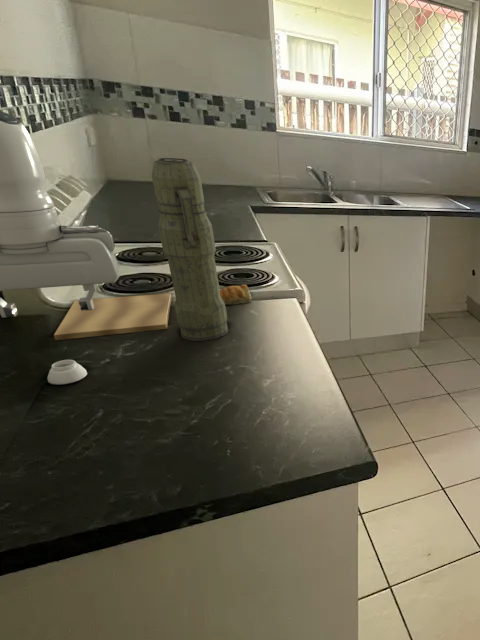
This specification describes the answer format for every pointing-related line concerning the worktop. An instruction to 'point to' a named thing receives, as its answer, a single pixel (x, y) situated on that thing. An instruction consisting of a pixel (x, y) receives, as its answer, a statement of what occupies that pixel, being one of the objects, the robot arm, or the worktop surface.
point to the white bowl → (66, 372)
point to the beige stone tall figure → (189, 249)
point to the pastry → (235, 295)
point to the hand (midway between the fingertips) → (50, 312)
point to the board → (116, 316)
